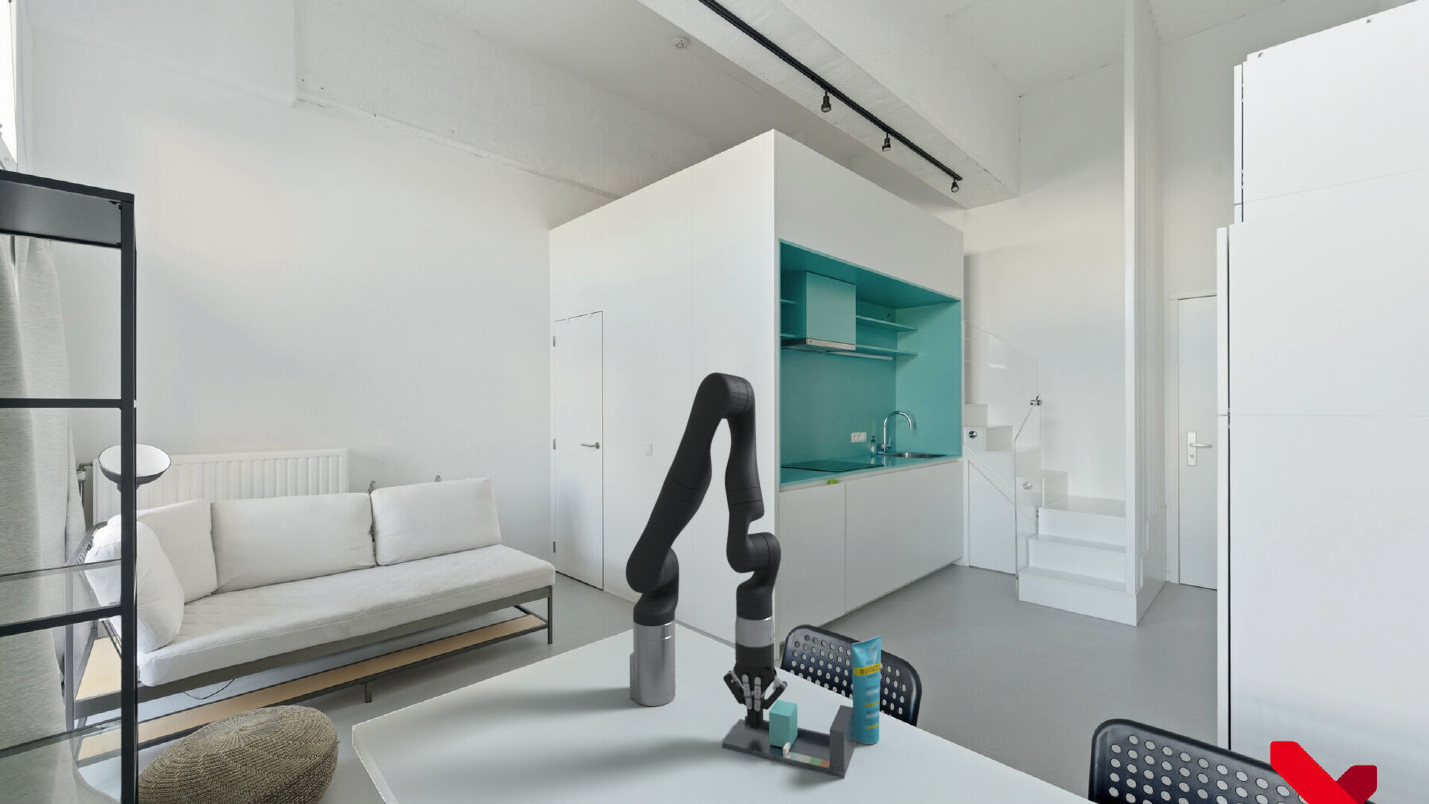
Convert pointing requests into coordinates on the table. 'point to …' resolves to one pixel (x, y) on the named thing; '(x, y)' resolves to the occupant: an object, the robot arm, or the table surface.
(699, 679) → the table surface
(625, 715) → the table surface
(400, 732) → the table surface
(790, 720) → the block
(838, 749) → the base
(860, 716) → the tube
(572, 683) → the table surface
